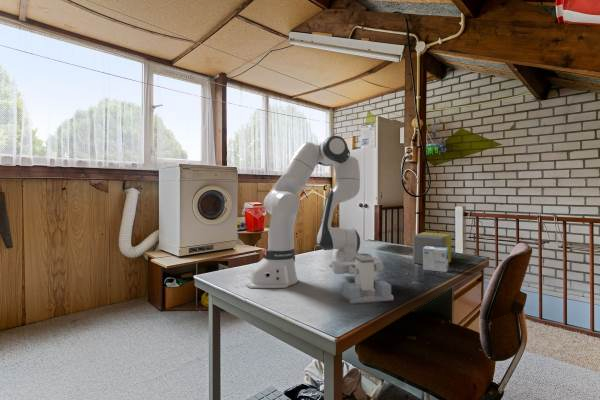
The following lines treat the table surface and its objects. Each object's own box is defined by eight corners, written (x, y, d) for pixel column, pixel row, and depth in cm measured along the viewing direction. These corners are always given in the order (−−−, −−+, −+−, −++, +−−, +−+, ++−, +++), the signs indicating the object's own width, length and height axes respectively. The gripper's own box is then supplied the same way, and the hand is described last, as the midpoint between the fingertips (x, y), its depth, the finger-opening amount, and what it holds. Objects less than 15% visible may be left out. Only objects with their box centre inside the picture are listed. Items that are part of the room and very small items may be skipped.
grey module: (361, 290, 113) (361, 260, 112) (354, 284, 120) (354, 256, 119) (373, 289, 114) (373, 259, 113) (365, 283, 121) (365, 255, 120)
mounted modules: (350, 298, 109) (350, 288, 109) (344, 292, 115) (344, 283, 114) (391, 294, 112) (391, 285, 112) (383, 289, 118) (383, 280, 117)
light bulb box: (448, 269, 151) (448, 247, 151) (446, 272, 145) (446, 249, 145) (425, 266, 157) (425, 245, 156) (422, 269, 151) (422, 247, 151)
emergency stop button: (455, 259, 172) (456, 232, 171) (442, 268, 154) (442, 238, 153) (428, 255, 182) (428, 230, 181) (412, 263, 163) (412, 235, 163)
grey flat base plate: (351, 303, 107) (351, 299, 107) (342, 295, 116) (342, 291, 116) (393, 300, 111) (393, 295, 111) (382, 292, 119) (382, 288, 119)
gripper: (327, 256, 127) (338, 264, 113) (373, 253, 131) (389, 261, 117) (327, 271, 127) (338, 281, 114) (373, 268, 131) (389, 278, 118)
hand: (364, 271), depth 116 cm, fingers closed on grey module, 4 cm apart
